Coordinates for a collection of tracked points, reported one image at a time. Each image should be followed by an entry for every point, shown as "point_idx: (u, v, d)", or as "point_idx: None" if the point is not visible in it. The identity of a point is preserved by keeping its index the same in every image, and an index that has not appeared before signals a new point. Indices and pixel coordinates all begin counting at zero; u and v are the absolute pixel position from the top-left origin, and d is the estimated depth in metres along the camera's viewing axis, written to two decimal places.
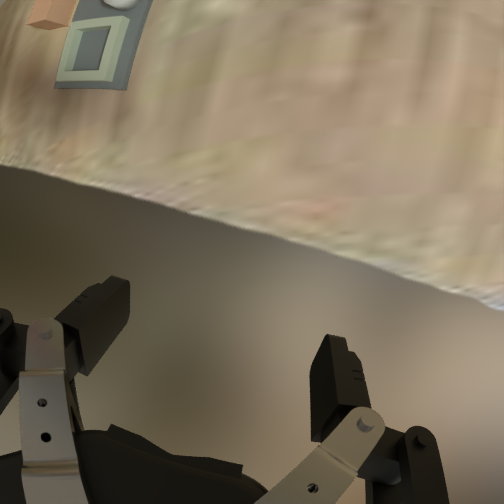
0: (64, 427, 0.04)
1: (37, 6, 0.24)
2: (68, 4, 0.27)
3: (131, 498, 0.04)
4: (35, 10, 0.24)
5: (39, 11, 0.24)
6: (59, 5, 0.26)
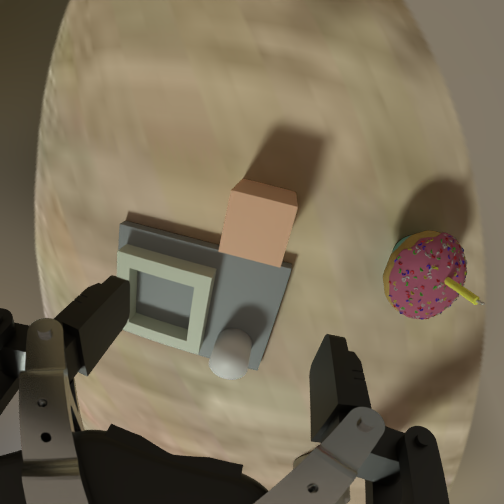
0: (64, 427, 0.04)
1: (268, 217, 0.22)
2: None
3: (131, 498, 0.04)
4: (261, 211, 0.22)
5: (248, 229, 0.23)
6: None
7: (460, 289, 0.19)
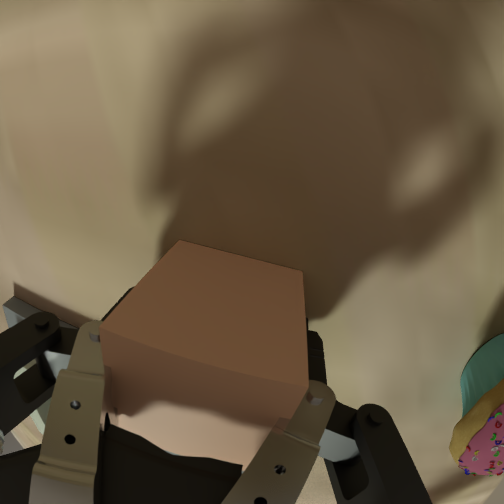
0: (92, 434, 0.04)
1: (216, 403, 0.07)
2: None
3: (131, 498, 0.04)
4: (193, 390, 0.07)
5: (169, 416, 0.07)
6: None
7: None
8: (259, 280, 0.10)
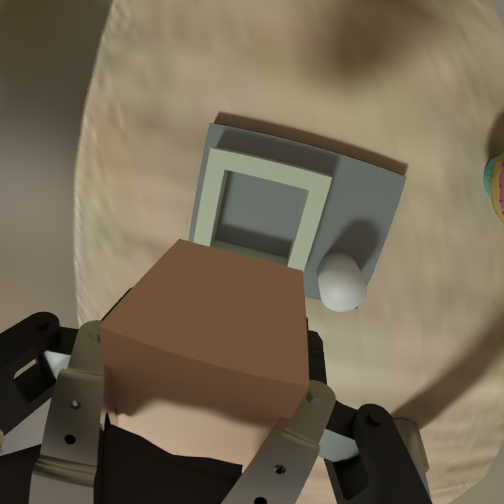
0: (92, 434, 0.04)
1: (215, 402, 0.07)
2: None
3: (132, 498, 0.04)
4: (193, 389, 0.07)
5: (169, 415, 0.07)
6: None
7: None
8: (259, 279, 0.10)
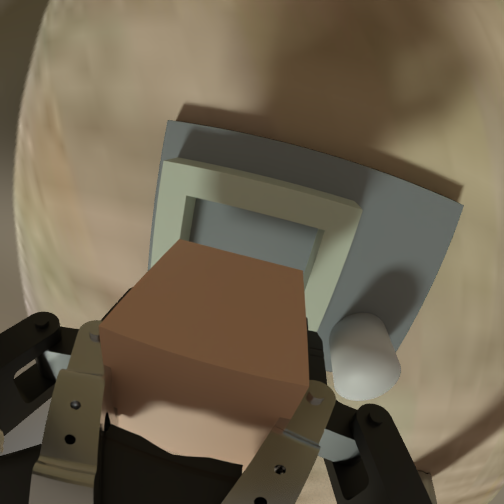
0: (92, 434, 0.04)
1: (215, 402, 0.07)
2: None
3: (132, 498, 0.04)
4: (193, 389, 0.07)
5: (169, 415, 0.07)
6: None
7: None
8: (259, 279, 0.10)
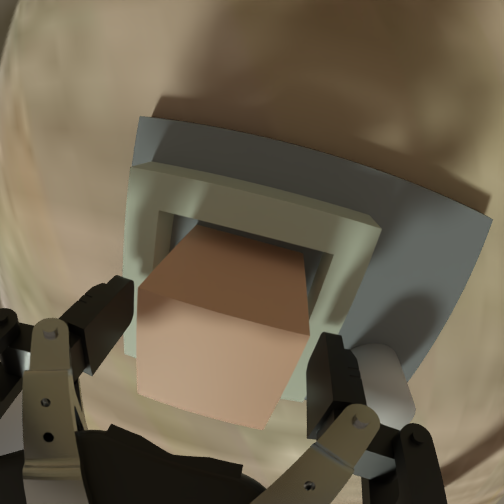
0: (67, 428, 0.04)
1: (232, 353, 0.09)
2: None
3: (131, 498, 0.04)
4: (215, 341, 0.08)
5: (190, 370, 0.09)
6: None
7: None
8: (267, 258, 0.12)
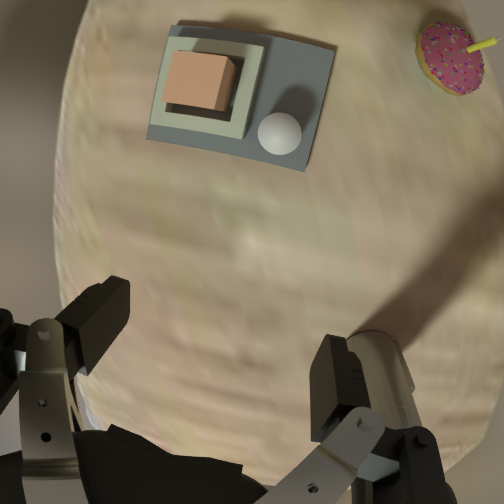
0: (64, 427, 0.04)
1: (202, 67, 0.22)
2: None
3: (132, 498, 0.04)
4: (197, 63, 0.22)
5: (186, 78, 0.23)
6: None
7: (480, 42, 0.16)
8: None
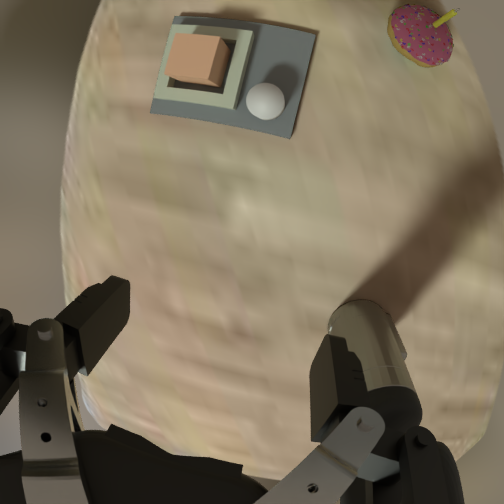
0: (64, 427, 0.04)
1: (199, 45, 0.25)
2: (208, 84, 0.30)
3: (131, 498, 0.04)
4: (194, 42, 0.25)
5: (185, 55, 0.25)
6: (197, 80, 0.28)
7: (443, 16, 0.18)
8: None
